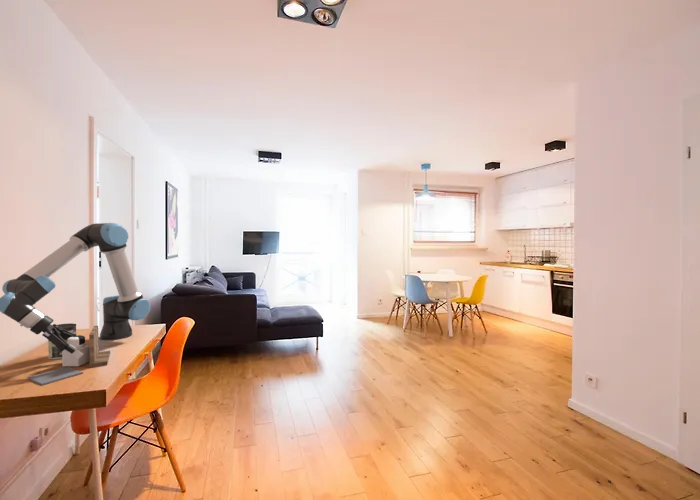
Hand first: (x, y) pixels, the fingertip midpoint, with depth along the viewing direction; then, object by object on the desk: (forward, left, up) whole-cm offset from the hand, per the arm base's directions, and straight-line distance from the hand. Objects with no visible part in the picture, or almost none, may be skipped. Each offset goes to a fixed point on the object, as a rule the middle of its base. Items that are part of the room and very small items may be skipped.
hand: (83, 351), depth 152 cm
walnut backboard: (-5, +3, -5) cm, 8 cm away
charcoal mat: (+13, +8, -5) cm, 16 cm away
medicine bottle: (+2, -1, -5) cm, 6 cm away
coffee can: (0, -19, -5) cm, 20 cm away
